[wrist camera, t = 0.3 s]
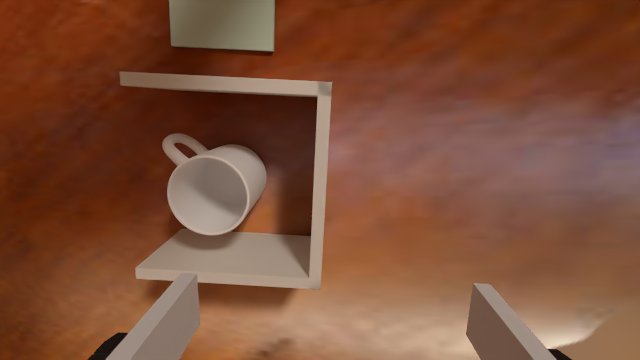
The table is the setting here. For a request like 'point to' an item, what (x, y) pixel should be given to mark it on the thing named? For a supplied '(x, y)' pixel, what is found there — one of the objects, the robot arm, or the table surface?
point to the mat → (223, 24)
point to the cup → (213, 184)
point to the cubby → (243, 247)
